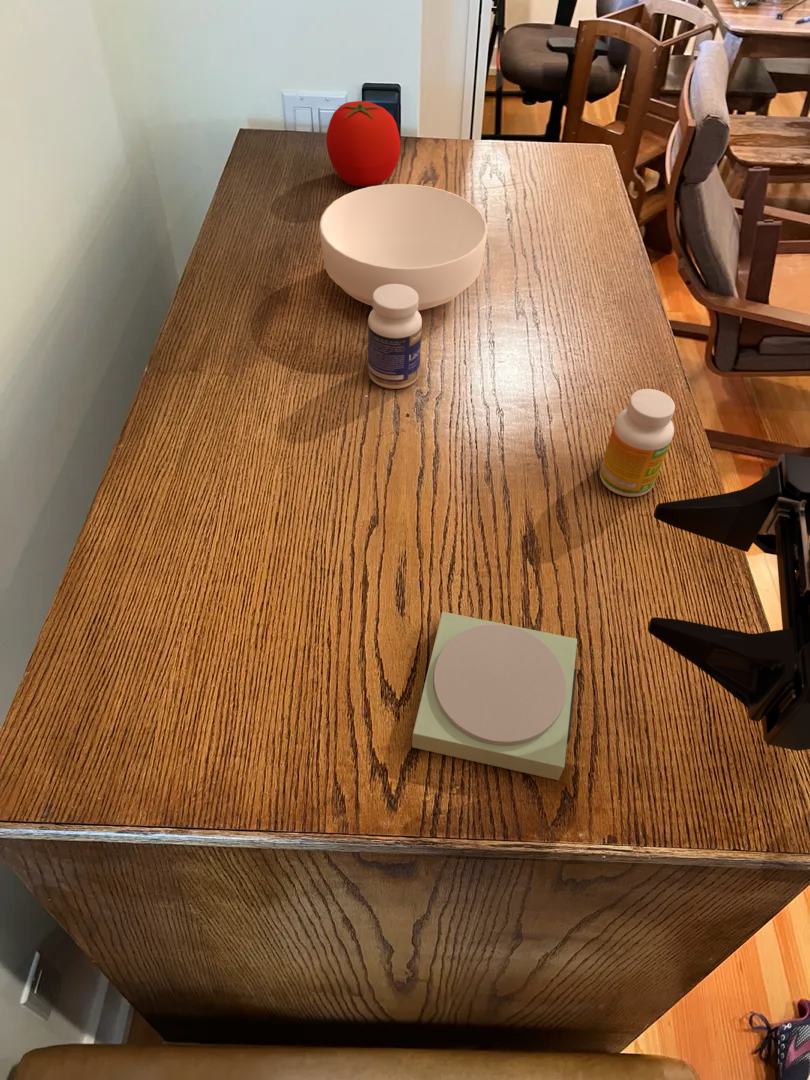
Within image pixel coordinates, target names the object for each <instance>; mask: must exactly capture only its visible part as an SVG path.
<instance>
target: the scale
mask: <svg viewBox="0 0 810 1080" xmlns="http://www.w3.org/2000/svg"><path fill="white" fill-rule="evenodd" d="M577 646H578V638H575V637H570V636H565V635H560V634H555V633H550V632H545V631H540V630H535V629H531V628H527V627H520V626H516V625H510V624H508V623H507V624H506V623H502V622H497V621H491V620H486V619H481V618H476V617H471V616H467V615H462V614H456V613H451V612H447V611H441V614H440V618H439V621H438V626H437V631H436V634H435V639H434V643H433V647H432V651H431V656H430V659H429V664H428V668H427V673H426V676H425V681H424V684H423V690H422V693H421V698H420V702H419V704H418V705H419V706H418V710H417V714H416V719H415V722H414V727H413V731H412V739H411V747H412V748H413V749H418V750H423V751H426V752H431V753H435V754H440V755H445V756H448V757H453V758H458V759H462V760H467V761H471V762H475V763H478V764H479V763H480V764H483V765H484V764H485V765H489V766H493V767H498V768H502V769H507V770H510V771H515V772H519V773H525V774H529V775H533V776H538V777H541V778H547V779H550V780H556V781H559V780H560V778H561V776H562V774H563V772H564V769H565V767H566V758H567V757H566V756H567V747H568V744H569V742H570V739H571V734H572V733H571V732H572V722H573V721H572V720H573V711H574V701H575V691H576V682H577V681H576V680H577V671H578V669H576V667H575V666H576V657H577Z"/></svg>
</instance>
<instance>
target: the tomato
mask: <svg viewBox="0 0 810 1080" xmlns="http://www.w3.org/2000/svg"><path fill="white" fill-rule="evenodd" d="M325 140H326V141H325V142H326V151H327V154H328V158H329V161H330V163H331V166H332V168H333V170H334V171H335V173H336V174H337V175H338V177H339V178H340V179H341V180H343V181H344V182H345V183H346V184H348V185H351V186H354V187H372V186H378V185H381V184H382V183H384V182H385V181H387V180H388V179H389V178H390V177H391V175H392V174H393V173H394V171H395V169H396V168H397V165H398V163H399V160H400V159H399V158H400V154H401V137H400V131H399V129H398V125H397V122H396V119H395V118H394V117H393V115H392V114H391V113H390V112H389V111H387V109H385V108H384V107H383V106H380V105H377V104H376V103H373V102H371V101H365V100H355V101H348V102H345V103H343V104H342V105H337V108H336V110H335V111H334V112H333V114H332V115H331V118H330V119H329V122H328V127H327V131H326V139H325Z"/></svg>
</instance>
